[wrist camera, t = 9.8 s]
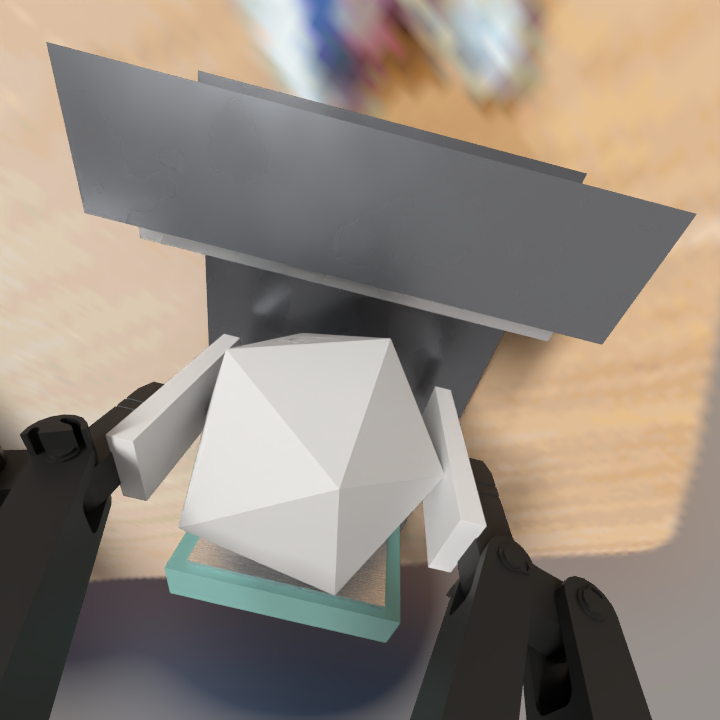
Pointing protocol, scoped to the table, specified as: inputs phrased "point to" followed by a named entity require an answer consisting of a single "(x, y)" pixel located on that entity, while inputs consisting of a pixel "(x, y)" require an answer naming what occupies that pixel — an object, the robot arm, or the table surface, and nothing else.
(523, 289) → the vise base
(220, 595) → the bar
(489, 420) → the table surface
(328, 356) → the die
